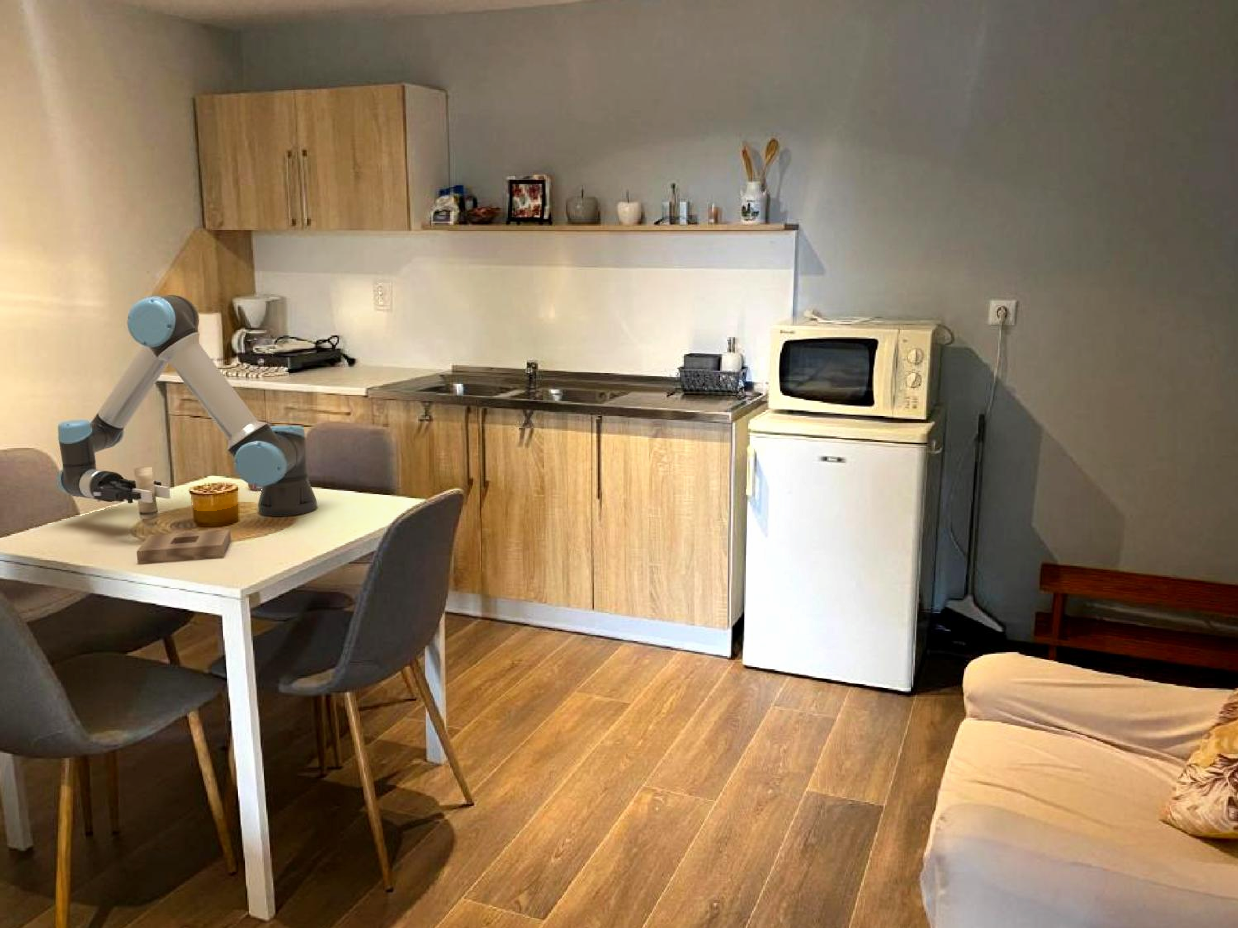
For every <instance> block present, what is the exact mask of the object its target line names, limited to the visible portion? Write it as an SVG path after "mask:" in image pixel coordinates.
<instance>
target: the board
mask: <svg viewBox="0 0 1238 928" xmlns="http://www.w3.org/2000/svg"><path fill="white" fill-rule="evenodd" d="M231 539H232V538H231V529H217V530H216V529H215V530H204V531H203V530H202V531H191V532H190V531H189V532H176V533H163V534H162V533H160V534H159V533H158V534H149V535H148V536H147V537H146V539H145V540H144V541H143V542H142V543H141V545H140V546H139V548H138V549H137V550H136V558H137V565H142V564H143V565H144V564H158V563H159V564H160V563H169V562H170V563H171V562H183V561H197V560H211V559H221V558H222V559H223V558H224V556H225V555H226V553H227V550H228V548H229V546H230V544H231V542H232V540H231Z"/></svg>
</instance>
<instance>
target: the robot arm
mask: <svg viewBox="0 0 1238 928" xmlns="http://www.w3.org/2000/svg"><path fill="white" fill-rule="evenodd" d="M199 325H200V316H199V311H198V310H197V308H196V307H195V305H194V304H193V303H192V302H191V301H190V300H189V299H187V298H185V297H184V296H180V295H176V294H175V295H174V294H170V295H168V294H167V295H164V296H162V295H161V296H156V295H155V296H149V297H148V296H147V297H146V298H142V299H140V300H139V301H137V302H135V304H133V305H132V307H131V308H130V309H129V312H128V315H127V329H128V332H129V334H130V336H131V337H132V339H133V340H134V341H135V342H137V343H138V344H139V345H141V348H140V349H139V351H138V352H137V354H136V355H135V357H134V358H133V360H132V361H131V363H130V364H129V366H128V367H127V369H126V370H125V371H124V373H123V375H122V376H121V377H120V379H119V381H118V382H117V383H116V385H115V386H114V388H113V389H112V391H111V392H110V394H109V395H108V397H107V398H106V400H105V401H104V402H103V404H102V405H101V406H100V409H99V410H98V412H97V413H96V415H95V416H94V417H93V419H92V421H91V422H90V421H89V420H86V419H74V420H73V419H71V420H66V421H62V422H60V423H58V425H57V434H58V436H57V439H58V444H59V450H60V456H61V462H62V469H61V470H60V471H59V472H58V475H57V478H56V483H57V486H58V488H59V489H60V491H61V492H63V493H64V494H66V495H70V496H72V497H77V498H86V499H92V500H96V502H101V501H102V502H108V503H113V502H120V503H122V502H125V500H126V501H127V504H132V503H134V501H137V502H138V501H142V502H148V503H152V502H153V499H152V491H148V490H142V489H136V482H135V480H133V479H132V480H131V479H130V480H129V479H128V478H127V479H126V478H124V477H123V475H121V474H120V473H118V472H115V471H108V470H105V469H104V470H103V469H97V464H96V462H97V461H96V454H95V453H97V452H100V451H103V450H106V449H110V448H112V447H115V446H116V445H117V444H119V443H120V442H121V441H122V439H124V438H123V437H124V433H125V432H124V429H125V428H126V426H127V425H128V423H129V422H130V420H132V417H134V414H135V413H136V412H137V411H138V409H139V408H140V406H141V405H142V403H143V401H145V399H146V397H147V396H148V394H150V391H151V390H152V389H153V387H154V386H155V384H156V382H158V380H159V379H160V377H161V376H162V374H163V373H164V371H165V370H166V368H167V367H168V365H169V364H170V366H171V367H172V368H173V369H174V371H175V372H176V374H177V375H178V377H179V378H180V379H181V381H183V383H184V384H185V385H186V387H187V388H188V390H189V391H190V392H191V393H192V395H193V396H194V397H195V398H196V400H197V401H198V402H199V404H200V405H201V407H202V408H203V409H204V410H205V411H206V413H207V414H208V416H209V417H210V418H211V420H212V421H213V423H215V426H217V427H218V429H219V430H220V431H221V433H222V434H223V436H224V437H225V438H226V439H227V441H228V442H227V448H226V449H227V451H228V452H229V453H230V455H231V456H232V457H233V460H234V464H233V466H234V469H235V472H236V474H237V475H238V476H239V478H240V479H241V480H242V481H244V482H246V483H247V484H248V483H249V484H251V485H254V486H262V490H260V495H259V499H258V504H257V510H258V511H257V512H258V514H260V515H262V516H265V517H266V516H267V517H290V516H296V515H297V516H298V515H304V514H308V513H311V512H313V511H315V510H316V509H317V508H318V501H317V497H316V496H315V493H314V490H313V488H312V486H311V483H310V481H309V474H308V459H307V458H308V457H307V445H306V440H307V438H306V435H305V429H304V428H303V426H300V425H269V423H268V422H266V421H260V420H258V419H257V418H256V417H255V415H254V414H253V413H252V411H251V410H250V409H249V407H248V406H247V405H246V403H245V402H244V401H243V399H242V398H241V397H240V395H239V394H238V393H237V392H236V390H235V389H234V387H233V386H232V384H231V383H230V382H229V381H228V380H227V378H226V377H225V375H224V374H223V373H222V372H221V370H220V369H219V368H218V366H217V365H216V363H214V361H213V359H212V358H211V357H210V356H209V354H208V353H207V352H206V351H205V349H204V348H203V346H202V345H201V344H200V343H199V340H200V332H199V331H198V327H199ZM154 487H155V495H156V498H160V499H161V498H162V499H165V500H166V499H167V500H168V499H171V492H170V487H169V486H163V485H162V482H161V481H156V480H154Z"/></svg>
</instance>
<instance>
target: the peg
mask: <svg viewBox="0 0 1238 928" xmlns="http://www.w3.org/2000/svg"><path fill="white" fill-rule="evenodd" d="M133 472H134V473H133V474H134V481H135V482H136V489H142V490H148V491H152V499H153V502H152V503H148V502H142V501H137V504H138V514H139V519H141V522H142V527H144V528H147V527H154V526H157V525H158V520H157V519H158V517H159V510H158V503H157V497H156V495H155V487H154V481H155V480H154V473H153V467H152V466H140V467H136V468H133Z"/></svg>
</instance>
